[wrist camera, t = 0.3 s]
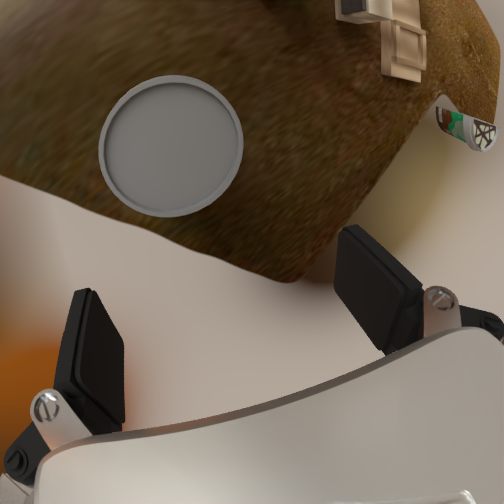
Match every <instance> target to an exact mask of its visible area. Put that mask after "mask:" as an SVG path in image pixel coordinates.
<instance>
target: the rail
mask: <svg viewBox="0 0 504 504" xmlns="http://www.w3.org/2000/svg"><path fill="white" fill-rule="evenodd" d="M392 14H393V20H389V21H381V75H386V76H391V77H396V78H401V79H405V80H409V81H415V82H421V70H425V71H426V31H424V30H422V29H421V27H420V10H419V0H392Z"/></svg>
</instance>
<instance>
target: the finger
mask: <svg viewBox="0 0 504 504" xmlns="http://www.w3.org/2000/svg"><path fill="white" fill-rule="evenodd" d="M335 13H336V20H341V21H346V22H350V23H355V24H363V23H371V22H379V21H389V20H393V14H392V0H335Z"/></svg>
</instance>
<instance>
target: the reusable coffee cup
mask: <svg viewBox="0 0 504 504" xmlns="http://www.w3.org/2000/svg"><path fill="white" fill-rule="evenodd" d="M242 153H243V133H242V129H241V125H240V121H239V119H238V117H237V115H236V113H235V110H234V109H233V107H232V106H231V105H230V103H229V102H228V101H227V100H226V98H225V97H224V96H223V95H222V94H220V93H219V92H218V91H217V90H216V89H214V88H213V87H212V86H210V85H208V84H207V83H205V82H203V81H201V80H199V79H195V78H191V77H188V76H179V75H168V76H161V77H156V78H153V79H150V80H147V81H145V82H142V83H141V84H139V85H137V86H136V87H134V88H132V89H131V90H130V91H128V92H127V93H126V94H125V95H124V96H123V97H122V98H121V99H120V100H119V101H118V102H117V104H116V105H115V106H114V108H113V109H112V111H111V112H110V114H109V115H108V117H107V119H106V121H105V124H104V126H103V128H102V132H101V136H100V140H99V161H100V167H101V171H102V174H103V176H104V178H105V181H106V183H107V184H108V186H109V187H110V189H111V190H112V192H113V193H114V194H115V195H116V196H117V197H118V198H119V199H120V200H121V201H122V202H123V203H124V204H126V205H128V206H129V207H131V208H132V209H134V210H136V211H139V212H141V213H144V214H146V215H151V216H157V217H177V216H183V215H187V214H190V213H193V212H196V211H199V210H200V209H202V208H204V207H206V206H208V205H209V204H211V203H212V202H213V201H215V200H216V199H217V198H218V197H220V196H221V195H222V193H223V192H224V191H225V190H226V189H227V188H228V187H229V185H230V184H231V182H232V180H233V179H234V177H235V175H236V174H237V171H238V168H239V166H240V163H241V159H242Z"/></svg>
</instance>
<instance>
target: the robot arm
mask: <svg viewBox="0 0 504 504" xmlns="http://www.w3.org/2000/svg"><path fill="white" fill-rule="evenodd" d="M422 285H423V284H421V282H420V281H419V280H418V279H416V277H415V276H413V275H412V274H411V273H410V272H409V271H408V270H407V269H406V268H405V267H404V266H403V265H402V264H401V263H400V262H399V261H398V260H397V259H396V258H395V257H393V256H392V255H391V254H390V253H389V252H388V251H387V250H386V249H385V248H384V247H383V246H381V245H380V244H379V243H378V242H377V241H376V240H375V239H374V238H372V237H371V236H370V235H369V234H368V233H367V232H366V231H365V230H363V229H362V228H361V227H360V226H359V225H351V226H347V227H344V228H343V229H342V231H341V232H340V233H339V236H338V248H337V259H336V268H335V278H334V289H335V292H336V293H337V295H338V296H339V297H340V299H341V300H342V301H343V303H344V304H345V305H346V307H347V308H348V310H349V311H350V312H351V314H352V315H353V316H354V318H355V319H356V320H357V322H358V323H359V325H360V326H361V327H362V329H363V330H364V331H365V333H366V334H367V336H368V337H369V338H370V340H371V341H372V342H373V344H374V345H375V347H376V348H377V349H378V350H382V352H383V353H384V354H385V357H383V358H381V359H379V360H377V361H374V362H372V363H370V364H368V365H366V366H363V367H361V368H359V369H356V370H354V371H352V372H349V373H347V374H345V375H342V376H339V377H337V378H334V379H332V380H329V381H326V382H324V383H321V384H318V385H316V386H313V387H310V388H307V389H305V390H302V391H299V392H296V393H293V394H290V395H287V396H284V397H281V398H278V399H275V400H271V401H268V402H265V403H262V404H258V405H254V406H251V407H247V408H243V409H240V410H236V411H232V412H228V413H224V414H220V415H216V416H211V417H207V418H202V419H198V420H193V421H188V422H182V423H177V424H171V425H166V426H159V427H153V428H147V429H141V430H133V431H126V432H119V431H122V423H124V422H125V404H124V403H125V402H124V343H123V340H122V338H121V336H120V334H119V333H118V331H117V329H116V327H115V326H114V324H113V322H112V320H111V319H110V317H109V315H108V313H107V311H106V310H105V308H104V306H103V304H102V302H101V300H100V298H99V296H98V294H97V293H96V292H95V291H92V290H91V289H90V288H85V289H81V290H77V291H75V292H74V296H73V299H72V302H71V306H70V310H69V314H68V318H67V322H66V326H65V331H64V333H63V337H62V341H61V346H60V351H59V356H58V361H57V367H56V373H55V380H54V386H53V389H46V390H43V391H41V392H40V393H39V394H37V396H36V397H35V398H34V400H33V402H32V404H31V409H30V412H31V417H32V420H33V422H32V423H31V424H30V425H29V426H28V427H27V428H26V429H25V430H24V431H23V432H22V434H21V435H20V436H19V437H18V438H17V439H16V440H15V441H14V442H13V444H12V445H11V446H10V447H9V448H8V450H7V451H6V454H5V457H4V466H5V470H6V472H7V473H6V475H5V474H3V473H2V475H1V478H0V504H504V324H503V322H502V320H501V319H500V318H498V316H496V315H494V314H493V313H490V312H486V311H482V310H478V309H474V308H470V307H466V306H461V305H459V303H458V299H457V297H456V296H455V294H454V293H453V292H452V291H450V290H449V289H447V288H445V287H442V286H431V287H429V288H427V289H426V290H425V291H424V290H423V289H422ZM393 352H394V353H393ZM391 353H392V354H391ZM389 354H390V355H389ZM387 355H388V356H387ZM112 432H117V433H112Z"/></svg>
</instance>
